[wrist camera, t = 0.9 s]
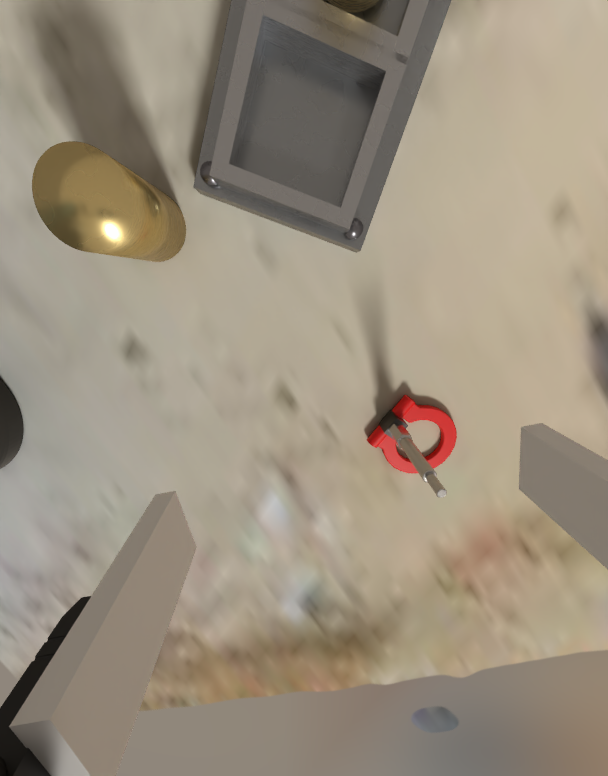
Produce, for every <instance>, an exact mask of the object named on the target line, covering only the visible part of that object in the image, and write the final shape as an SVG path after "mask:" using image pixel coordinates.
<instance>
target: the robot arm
mask: <svg viewBox="0 0 608 776" xmlns="http://www.w3.org/2000/svg"><path fill="white" fill-rule="evenodd" d="M22 439H23V421H22V416H21V413H20V410H19V407H18V405H17V403H16V401H15V399H14V397H13V396H12V394H11V392H10V391H9V390H8V388H7V387H6V386H5V384H4V383H3V382H2V381H1V380H0V469H1V468H2V467H4V466H5V465H7V464H8V463H9V462H10V461H11V460H12V459H13V458H14V457H15V456H16V454H17V453H18V451H19V449H20V446H21V443H22ZM519 489H520V490H521V491H522V492H523V493H524V494H525V495H526V496H527V497H528V498H530V499H531V500H532V501H533V502H534V503H535V504H536V505H537V506H538V507H539V508H541V509H542V510H543V511H544V512H545V513H546V514H547V515H548V516H549V517H551V518H552V519H553V520H554V521H555V522H556V523H557V524H558V525H559V526H560V527H562V528H563V529H564V530H565V531H566V532H567V533H568V534H569V535H570V536H571V537H573V538H574V539H575V540H576V541H577V542H578V543H579V544H580V545H581V546H582V547H584V548H585V549H586V550H587V551H588V552H589V553H590V554H591V555H592V556H594V557H595V558H596V559H597V560H598V561H599V562H600V563H601V564H602V565H603V566H605V567H606V568H607V569H608V460H606V459H605V458H603V457H601V456H599V455H598V454H596V453H594V452H592V451H590V450H589V449H587V448H585V447H583V446H582V445H580V444H578V443H576V442H574V441H573V440H571V439H569V438H567V437H566V436H564V435H562V434H560V433H559V432H557V431H555V430H553V429H551V428H550V427H548V426H546V425H544V424H543V423H540V424H534V425H529V426H524V427H521V445H520V472H519ZM195 550H196V545H195V542H194V539H193V537H192V534H191V531H190V529H189V526H188V523H187V521H186V518H185V515H184V513H183V510H182V507H181V505H180V502H179V499H178V497H177V494H176V492H175V491H173V492H167V493H162V494H156V495H155V496H154V498H153V500H152V501H151V503H150V504H149V506H148V507H147V509H146V511H145V512H144V514H143V515H142V517H141V519H140V520H139V522H138V523H137V525H136V526H135V528H134V530H133V531H132V533H131V534H130V536H129V538H128V539H127V541H126V542H125V544H124V545H123V547H122V549H121V550H120V552H119V553H118V555H117V557H116V558H115V560H114V561H113V563H112V564H111V566H110V568H109V569H108V571H107V572H106V574H105V576H104V577H103V579H102V580H101V582H100V583H99V585H98V587H97V588H96V590H95V591H94V593H93V595H92V596H88V597H83V598H81V599H80V600H79V601H78V602H77V603H76V604H75V605H74V606H73V607H72V608H71V609H70V610H69V611H68V612H67V613H66V614H65V615H64V616H63V617H62V618H61V620H60V621H59V622H58V624H57V625H56V627H55V628H54V630H53V631H52V633H51V634H50V636H49V637H48V641H47V642H46V643H44V645H43V646H42V647H41V649H40V650H39V652H38V653H37V655H36V656H35V661H32V662H31V664H30V665H29V667H28V668H27V670H26V671H25V672H24V674H23V675H22V677H21V678H20V680H19V681H18V683H17V684H16V686H15V687H14V689H13V690H12V692H11V693H10V695H9V696H8V697H7V699H6V700H5V702H4V703H3V705H2V706H1V708H0V776H116V774H117V771H118V768H119V765H120V763H121V760H122V757H123V754H124V751H125V749H126V746H127V743H128V740H129V737H130V734H131V732H132V729H133V726H134V723H135V720H136V717H137V715H138V712H139V709H140V706H141V703H142V700H143V698H144V695H145V692H146V689H147V686H148V683H149V681H150V678H151V675H152V672H153V669H154V666H155V664H156V661H157V658H158V655H159V652H160V649H161V647H162V644H163V641H164V638H165V635H166V632H167V630H168V627H169V624H170V621H171V618H172V615H173V613H174V610H175V607H176V604H177V601H178V598H179V596H180V593H181V590H182V587H183V584H184V581H185V579H186V576H187V573H188V570H189V567H190V564H191V562H192V559H193V556H194V553H195Z"/></svg>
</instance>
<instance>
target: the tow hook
mask: <svg viewBox="0 0 608 776" xmlns="http://www.w3.org/2000/svg"><path fill="white" fill-rule="evenodd" d="M402 418H403V419H405V420H406V421H408V422H409V423H410V422H414V421H418V420H429V421H433V422H434V423H436V424H437V425H438V426H439V428H440V431H441V439H440V443H439V445H438V447H437V448H436V449H435V450H434V452H432V453H431V454H430V455H428V456H426V457H424V456H423V455H422V453H421V452H420V451H419V449H418V448H417V447H416V445H415V444H414V443H413V440H412V438H411V435H410V434H409V433H408V431H407V430H406V428H407V426H408V425H407V424H406V422H405V421H404V420H403V419H402ZM456 438H457V436H456V428H455V425H454V422H453V421H452V419H451V418H450V417H449V416H448V415H447V414H446V413H445V412H443V411H442V410H440V409H439V408H436V407H433V406H429V405H417V404H415V402H414V401H413V400H412V399H411V398H410V397H408V396H407V395H404V396H403V398H402V399H401V400H400V401H399V402H398V403H397V405H396V406H395V407H394V408H393V409H392V410H390V411H389V413H388V414H387V415H386V416H385V417H384V418H383V420H382V421H381V422H380V423H379V426H378V427H377V428H376V429H375V430H374V432H373V433H372V434H371V435H370V436H369V437H368V439H367V441H368V442H369V443H370V444H371V445H372V446H374V447H376V448H377V447H380V448H381V449H382V451H383V453H384V455H385V457H386V459H387V461H388V462H389V463H390V464H391V465H392V466H393V467H394V468H396V469H398V470H400V471H403V472H407V473H419V474H420V476H421V477H422V479H423V480H424V481H425V482H428V483H429V485H430V486H431V488H432V489H433V490H434V492H435V493H436V495H437V496H438V497H444V496H445V495H446V494H447V491H446V490H445V488H444V487H443V486H442V484H441V483H440V482H439V480H438V479H437V478H436V477H437V473H436V472H435V471H434V469H433V468H435V467H437V466H438V465H440V464H441V463H443V462H444V461H445V460H446V459H447V457H448V456H449V455H450V454H451V452H452V450H453V448H454V446H455V442H456ZM396 443H397V445H398V447H400V448H402V449H403V450H404V452H405V453H406V455H407V456H408V458H409V459H408V458H405V457H403V456H401V455H400V454H399V453H398V452H397V449H396Z"/></svg>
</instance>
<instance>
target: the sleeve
mask: <svg viewBox="0 0 608 776" xmlns="http://www.w3.org/2000/svg"><path fill="white" fill-rule="evenodd" d="M32 191H33V198H34V202H35V205H36V208H37V210H38V213H39V215H40V217H41V218H42V220H43V222H44V223H45V225H46V226H47V227H48V229H49V230H50V231H51V232H52V233H53V234H54V235H55V236H56V237H57V238H58V239H60V240H61V241H62V242H64V243H65V244H67V245H69V246H71V247H73V248H75V249H78V250H81V251H86V252H92V253H99V254H106V255H113V256H120V257H126V258H133V259H140V260H147V261H154V262H161V261H166V260H169V259H171V258H172V257H174V256H175V255H176V254H177V253H178V252H179V251H180V250H181V248H182V246H183V244H184V241H185V236H186V225H185V220H184V217H183V214H182V212H181V210H180V209H179V207H178V206H177V204H176V203H175V202H174V201H173V200H172V199H171V198H170V197H169V196H167V195H166V194H164V193H163V192H161V191H160V190H158V189H157V188H155V187H154V186H153V185H151V184H150V183H148V182H147V181H145V180H144V179H142V178H141V177H139V176H138V175H136V174H135V173H133V172H132V171H130V170H129V169H127V168H126V167H124V166H123V165H122V164H120V163H119V162H117V161H116V160H114V159H113V158H111V157H110V156H108V155H107V154H105V153H104V152H102V151H101V150H99V149H97V148H96V147H93V146H91V145H89V144H85V143H82V142H62V143H59V144H56V145H54V146H52V147H51V148H49V149H48V150H47V151H45V153H44V154H43V155H42V156H41V157H40V159H39V160H38V162H37V164H36V166H35V169H34V173H33V179H32Z"/></svg>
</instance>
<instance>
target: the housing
mask: <svg viewBox="0 0 608 776" xmlns="http://www.w3.org/2000/svg"><path fill="white" fill-rule="evenodd" d="M450 3H451V0H231V5H230V10H229V15H228V20H227V25H226V30H225V35H224V39H223V44H222V49H221V54H220V59H219V64H218V69H217V74H216V79H215V84H214V89H213V93H212V98H211V103H210V108H209V113H208V118H207V123H206V128H205V133H204V138H203V143H202V147H201V152H200V157H199V162H198V167H197V172H196V177H195V182H194V188H195V189H196V190H197V191H198V192H199V193H200V194H203V195H206V196H208V197H211V198H213V199H216V200H219V201H221V202H224V203H227V204H229V205H232V206H235V207H237V208H240V209H243V210H245V211H248V212H251V213H253V214H256V215H259V216H261V217H264V218H266V219H269V220H272V221H274V222H277V223H280V224H282V225H285V226H288V227H290V228H293V229H296V230H298V231H301V232H304V233H306V234H309V235H311V236H314V237H317V238H319V239H322V240H325V241H327V242H330V243H333V244H335V245H338V246H341V247H343V248H346V249H349V250H351V251H354V252H356V253H357V252H359V251H361V248H362V245H363V242H364V240H365V237H366V234H367V231H368V229H369V226H370V223H371V220H372V218H373V215H374V212H375V209H376V207H377V204H378V201H379V198H380V196H381V193H382V190H383V187H384V185H385V182H386V179H387V176H388V174H389V171H390V168H391V165H392V163H393V160H394V157H395V154H396V151H397V149H398V146H399V143H400V140H401V138H402V135H403V132H404V129H405V127H406V124H407V121H408V118H409V116H410V113H411V110H412V107H413V105H414V102H415V99H416V96H417V94H418V91H419V88H420V85H421V83H422V80H423V77H424V74H425V72H426V69H427V66H428V63H429V61H430V58H431V55H432V52H433V50H434V47H435V44H436V41H437V39H438V36H439V33H440V30H441V27H442V25H443V22H444V19H445V16H446V14H447V11H448V8H449V5H450Z"/></svg>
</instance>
